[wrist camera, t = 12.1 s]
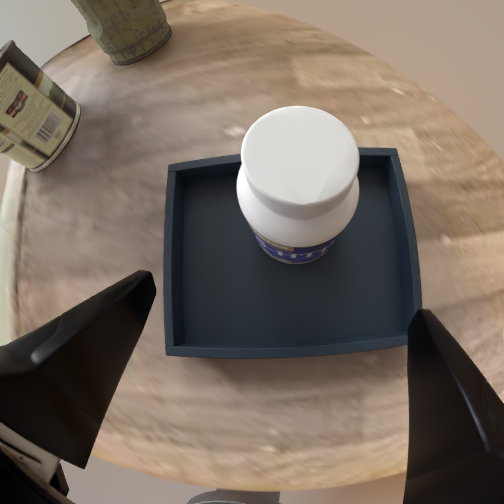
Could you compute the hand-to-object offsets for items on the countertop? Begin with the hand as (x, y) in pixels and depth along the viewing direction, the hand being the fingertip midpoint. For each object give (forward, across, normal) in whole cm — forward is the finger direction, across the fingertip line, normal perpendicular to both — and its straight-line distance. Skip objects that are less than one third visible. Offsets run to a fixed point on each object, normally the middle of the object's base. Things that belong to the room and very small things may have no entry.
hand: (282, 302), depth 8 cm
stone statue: (+26, +21, -13) cm, 36 cm away
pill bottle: (+9, 0, +2) cm, 10 cm away
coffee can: (+16, +30, -4) cm, 34 cm away
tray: (+9, 0, +4) cm, 10 cm away
